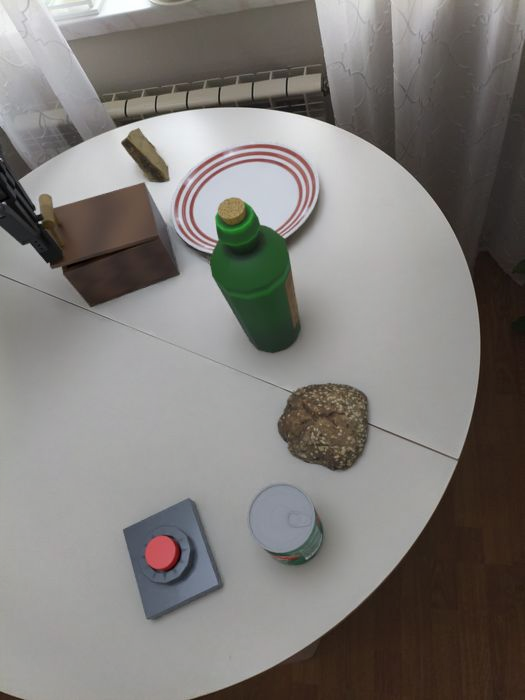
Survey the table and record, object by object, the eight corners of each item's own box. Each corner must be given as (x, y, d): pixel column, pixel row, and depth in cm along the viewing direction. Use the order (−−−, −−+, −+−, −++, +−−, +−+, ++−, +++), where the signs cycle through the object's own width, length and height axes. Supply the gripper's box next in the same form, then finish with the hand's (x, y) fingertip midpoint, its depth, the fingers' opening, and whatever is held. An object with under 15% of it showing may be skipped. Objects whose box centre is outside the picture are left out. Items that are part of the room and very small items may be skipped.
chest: (91, 307, 98) (62, 274, 89) (82, 254, 104) (55, 219, 96) (179, 274, 97) (159, 238, 89) (165, 224, 104) (146, 185, 96)
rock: (129, 138, 115) (111, 168, 109) (140, 106, 108) (122, 136, 102) (176, 164, 117) (162, 195, 112) (190, 135, 111) (175, 165, 105)
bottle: (320, 317, 88) (294, 189, 64) (283, 370, 84) (241, 257, 60) (265, 292, 92) (221, 164, 68) (228, 342, 89) (169, 225, 65)
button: (146, 546, 72) (141, 543, 70) (174, 532, 72) (169, 530, 71) (155, 576, 70) (150, 574, 68) (183, 562, 70) (179, 560, 69)
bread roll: (376, 394, 80) (376, 379, 75) (358, 476, 74) (357, 465, 70) (291, 378, 83) (286, 363, 79) (269, 456, 78) (262, 444, 74)
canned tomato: (259, 561, 72) (240, 546, 62) (270, 500, 75) (253, 478, 66) (320, 571, 70) (309, 558, 60) (328, 508, 73) (319, 486, 64)
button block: (128, 532, 77) (116, 526, 74) (194, 501, 77) (185, 494, 74) (152, 620, 71) (140, 618, 67) (223, 586, 71) (215, 582, 68)
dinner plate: (147, 216, 106) (141, 204, 103) (252, 133, 111) (248, 119, 108) (239, 293, 93) (235, 281, 90) (353, 194, 98) (351, 181, 96)
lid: (52, 269, 88) (32, 240, 82) (45, 214, 94) (26, 183, 89) (159, 238, 89) (147, 207, 83) (145, 185, 95) (133, 153, 90)
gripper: (-14, 159, 64) (81, 279, 84) (-16, 94, 71) (72, 220, 91) (-75, 181, 64) (35, 296, 84) (-71, 114, 71) (29, 236, 91)
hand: (54, 257), depth 87 cm, fingers closed
